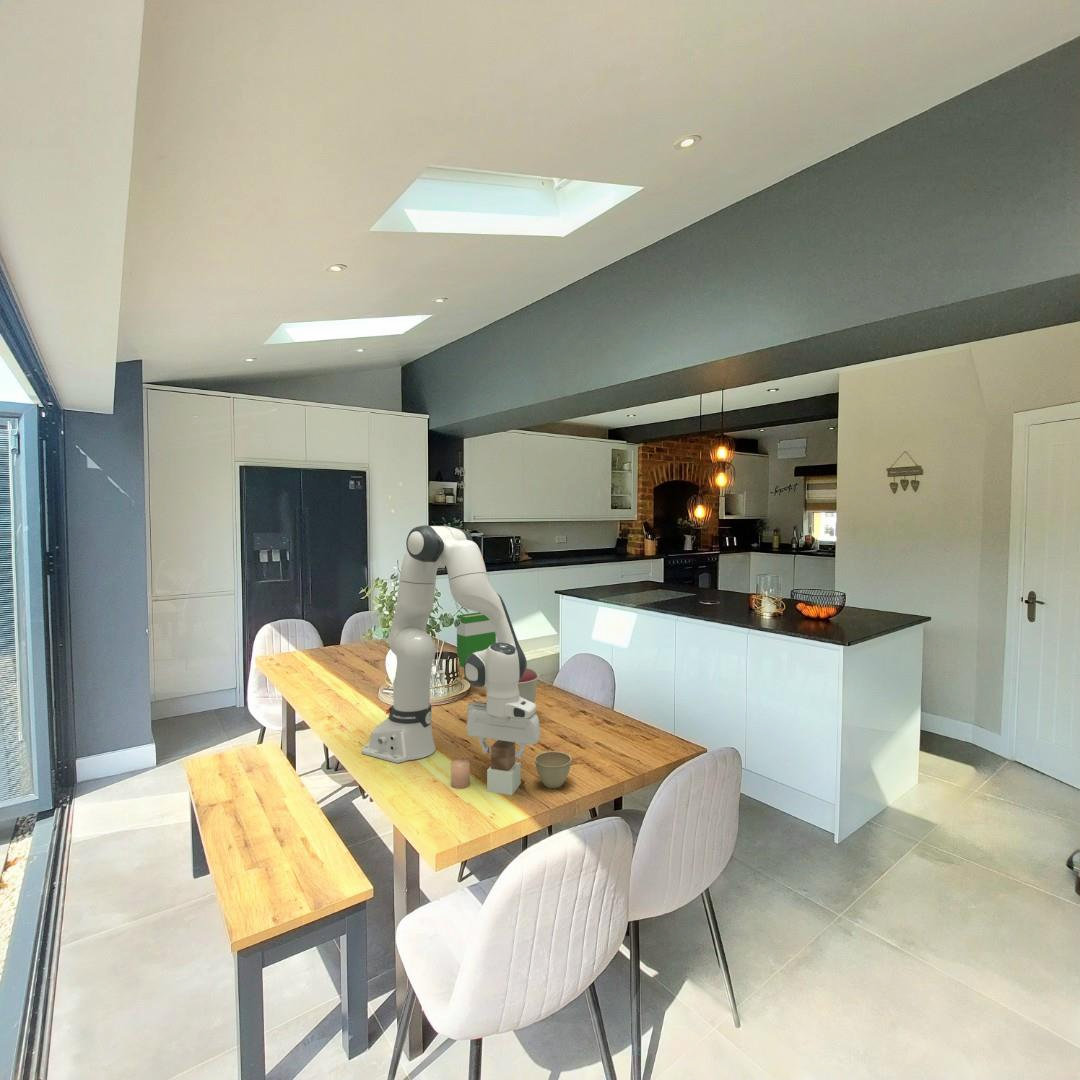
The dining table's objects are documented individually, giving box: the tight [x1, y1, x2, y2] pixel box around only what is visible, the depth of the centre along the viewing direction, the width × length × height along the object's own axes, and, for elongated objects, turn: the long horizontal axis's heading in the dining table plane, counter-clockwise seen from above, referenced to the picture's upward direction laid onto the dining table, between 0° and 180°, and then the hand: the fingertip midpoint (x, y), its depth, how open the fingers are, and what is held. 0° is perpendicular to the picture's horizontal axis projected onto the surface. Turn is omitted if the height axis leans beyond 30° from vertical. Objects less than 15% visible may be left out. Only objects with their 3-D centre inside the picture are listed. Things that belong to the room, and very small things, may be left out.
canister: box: [518, 667, 540, 704], centre depth 212 cm, size 18×18×21 cm
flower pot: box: [534, 750, 572, 789], centre depth 164 cm, size 10×10×7 cm
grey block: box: [486, 761, 522, 796], centre depth 162 cm, size 7×7×6 cm
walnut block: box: [490, 740, 516, 771], centre depth 161 cm, size 5×5×6 cm
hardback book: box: [456, 612, 497, 668], centre depth 291 cm, size 18×7×24 cm, turn 130°
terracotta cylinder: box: [450, 758, 471, 790], centre depth 164 cm, size 5×5×6 cm
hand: (502, 755), depth 161 cm, fingers open, 8 cm apart
